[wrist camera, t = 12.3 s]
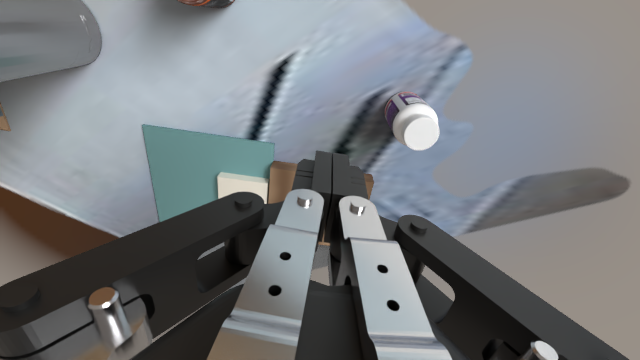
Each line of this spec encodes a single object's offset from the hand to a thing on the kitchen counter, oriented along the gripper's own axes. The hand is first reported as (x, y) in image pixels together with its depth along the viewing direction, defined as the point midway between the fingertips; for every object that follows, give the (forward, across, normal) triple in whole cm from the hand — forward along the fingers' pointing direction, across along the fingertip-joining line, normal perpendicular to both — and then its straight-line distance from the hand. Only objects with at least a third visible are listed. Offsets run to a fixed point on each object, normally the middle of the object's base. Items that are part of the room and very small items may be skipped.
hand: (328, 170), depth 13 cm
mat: (+29, +17, +22) cm, 40 cm away
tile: (+28, +11, +22) cm, 37 cm away
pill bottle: (+29, -11, +4) cm, 31 cm away
